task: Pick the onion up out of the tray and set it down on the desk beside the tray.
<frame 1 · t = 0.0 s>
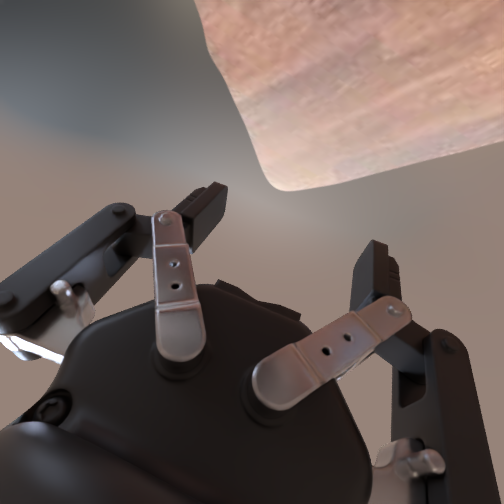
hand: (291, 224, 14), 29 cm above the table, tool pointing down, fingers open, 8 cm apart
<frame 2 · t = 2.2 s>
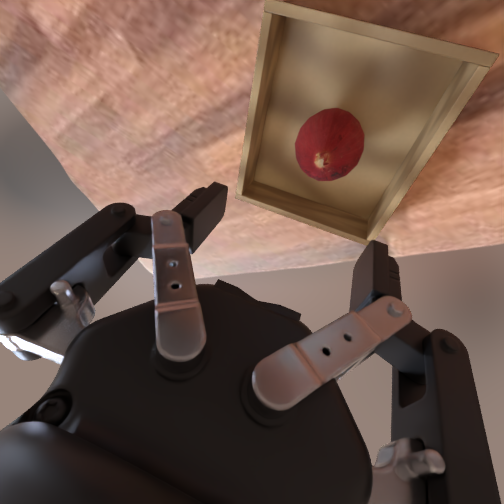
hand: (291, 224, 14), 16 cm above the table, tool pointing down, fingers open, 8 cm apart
tray: (334, 133, 26), on the table
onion: (333, 133, 26), resting on tray
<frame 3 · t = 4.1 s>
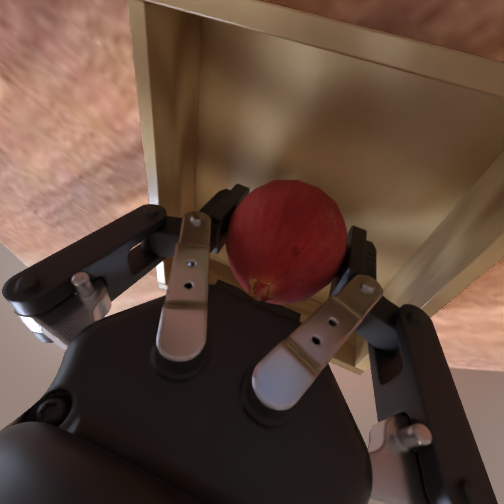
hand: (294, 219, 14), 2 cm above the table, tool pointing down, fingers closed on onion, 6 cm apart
tray: (302, 203, 16), on the table
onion: (301, 203, 16), resting on tray, touching gripper
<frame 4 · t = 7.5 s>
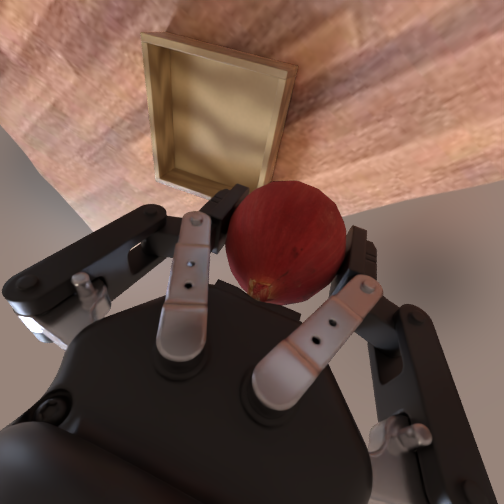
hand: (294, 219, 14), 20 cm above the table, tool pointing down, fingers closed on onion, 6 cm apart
tray: (222, 128, 33), on the table
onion: (301, 204, 16), point 18 cm above the table, touching gripper
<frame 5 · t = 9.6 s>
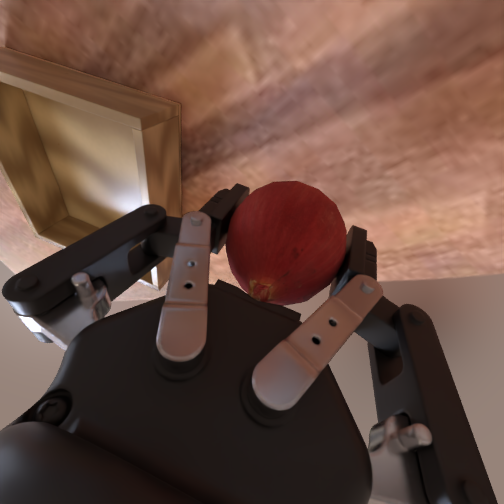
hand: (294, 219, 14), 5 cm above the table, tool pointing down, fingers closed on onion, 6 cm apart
tray: (109, 175, 25), on the table
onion: (301, 204, 16), point 3 cm above the table, touching gripper
when the fingers open (2 cm above the table, at t = 11.2 s): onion stays where it is, on the table.
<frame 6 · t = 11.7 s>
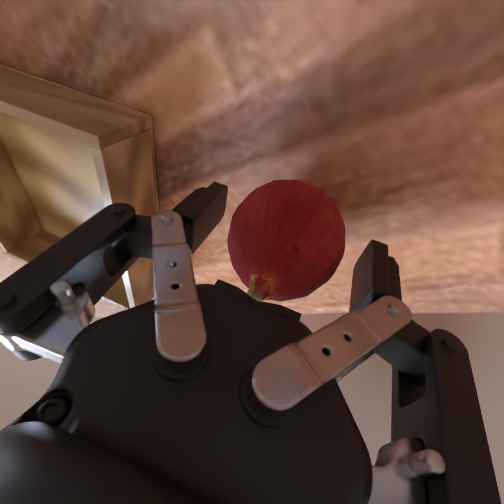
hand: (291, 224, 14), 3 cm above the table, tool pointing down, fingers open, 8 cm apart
tray: (82, 190, 22), on the table
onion: (301, 203, 16), on the table
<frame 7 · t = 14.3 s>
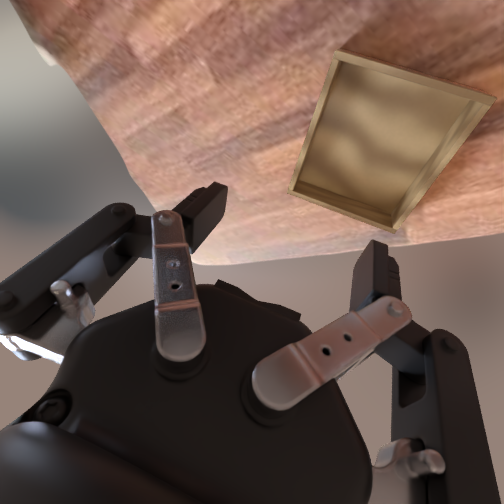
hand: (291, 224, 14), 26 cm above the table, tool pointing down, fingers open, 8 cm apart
tray: (370, 144, 33), on the table
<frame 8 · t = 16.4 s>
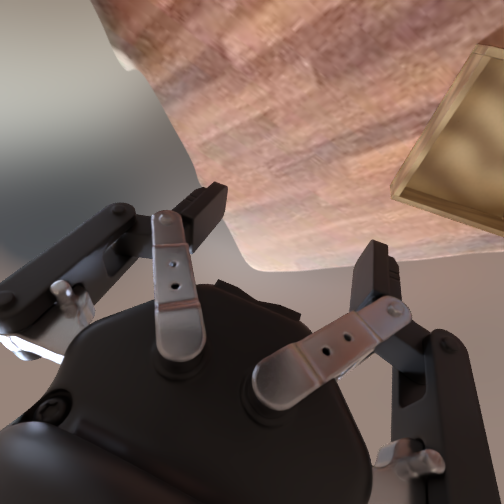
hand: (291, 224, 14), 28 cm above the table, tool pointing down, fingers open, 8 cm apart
tray: (490, 146, 31), on the table
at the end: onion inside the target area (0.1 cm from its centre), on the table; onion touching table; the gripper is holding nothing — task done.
